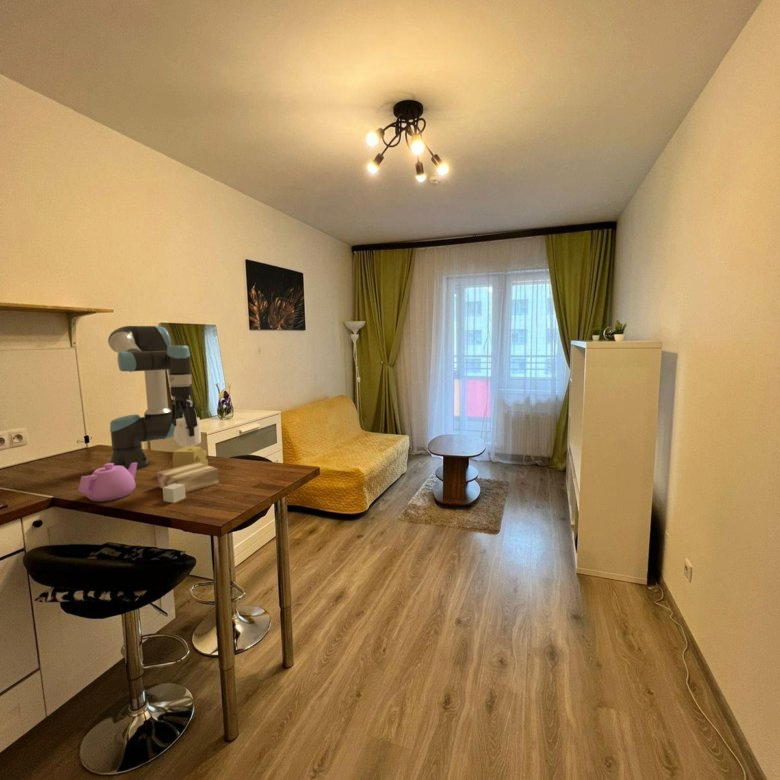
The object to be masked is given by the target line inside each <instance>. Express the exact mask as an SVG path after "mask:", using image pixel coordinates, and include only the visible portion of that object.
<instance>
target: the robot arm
mask: <svg viewBox="0 0 780 780" xmlns="http://www.w3.org/2000/svg"><path fill="white" fill-rule="evenodd" d="M107 343H108V346H109V347H110V349H111V350H112V351H114V352H116V353H117V365H118V369H119V371H121V372H130V373H132V372H144V382H145V392H146V393H145V394H146V406H147V409H146V411H144V413H143V415H144V416H140V415H139V414H129V415H128V414H127V415H124V416H120V417H117V418H114V419H112V420H111V421H110V422H109V426H110V427H109V432H110V437H111V438H110V439H111V450H112V452H111V455H110V459H109V463H114V465H113V466H123V467H125V468H126V469H127V470H128V469H129V467H130V465H131V463H134V462H137V468H136V469H139V468H142V467H145V466H147V465H148V464H149V463H148V457H147V455H146V453H145V451H144V450H143V444H142V443H144V442H150V441H157V440H165V439H171V438H174V429H175V427H176V426H177V425H176V419H178V418H181V419H182V418H185V421H186V424H187V427H186V434H187V445H192V444H195V434H194V427H196V426H197V419H196V417H197V416H196V415H197V414H196V413H197V412H196V407H195V401H194V400H191V399H190V396H192V395H193V386H192V384H193V382H192V369H191V368H192V367H191V353H190V347H189V346H187V345H172V344H171V343H172V342H171V337H170V334H169V331H168V330H167V329H166V328H165V327H164V326H159V325H158V326H157V325H126V326H121V327H118V328H116V329H114V330H113V331H112V332H111V333H110V334H109V336H108V340H107ZM166 371H168V372H169V373H168V375H169V378H168V380H169V385H170V388H169V389H170V396H171V397H174V399H173V398H172V399H171V398H170V408H169V404H168V403H169V402H168V392H167V377H166V376H167V375H166ZM183 416H184V417H183Z"/></svg>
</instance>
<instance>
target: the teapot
mask: <svg viewBox="0 0 780 780" xmlns="http://www.w3.org/2000/svg"><path fill="white" fill-rule="evenodd" d="M113 465H114V463H110V462H107V463H104V464H103V467H100V468H97V469H95V470H94V471H93V472H92V474H90V475H81V477H80V482H79V485H78V489H77V491H78V493H80V494H82V495H84V496H86V498H88V500H91V501H92V502H108V501H113V500H118V499H121V498H125V497H126V496H127V497H128V496H129V495H130V494H132V493H133V491H134V490H135V488H136V481H135V479H136V474H137V469H138V468H137V462H134V463H131V465H130V467H129V469H128V470H127V469H126V468H125V467H123V466H113Z"/></svg>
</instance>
